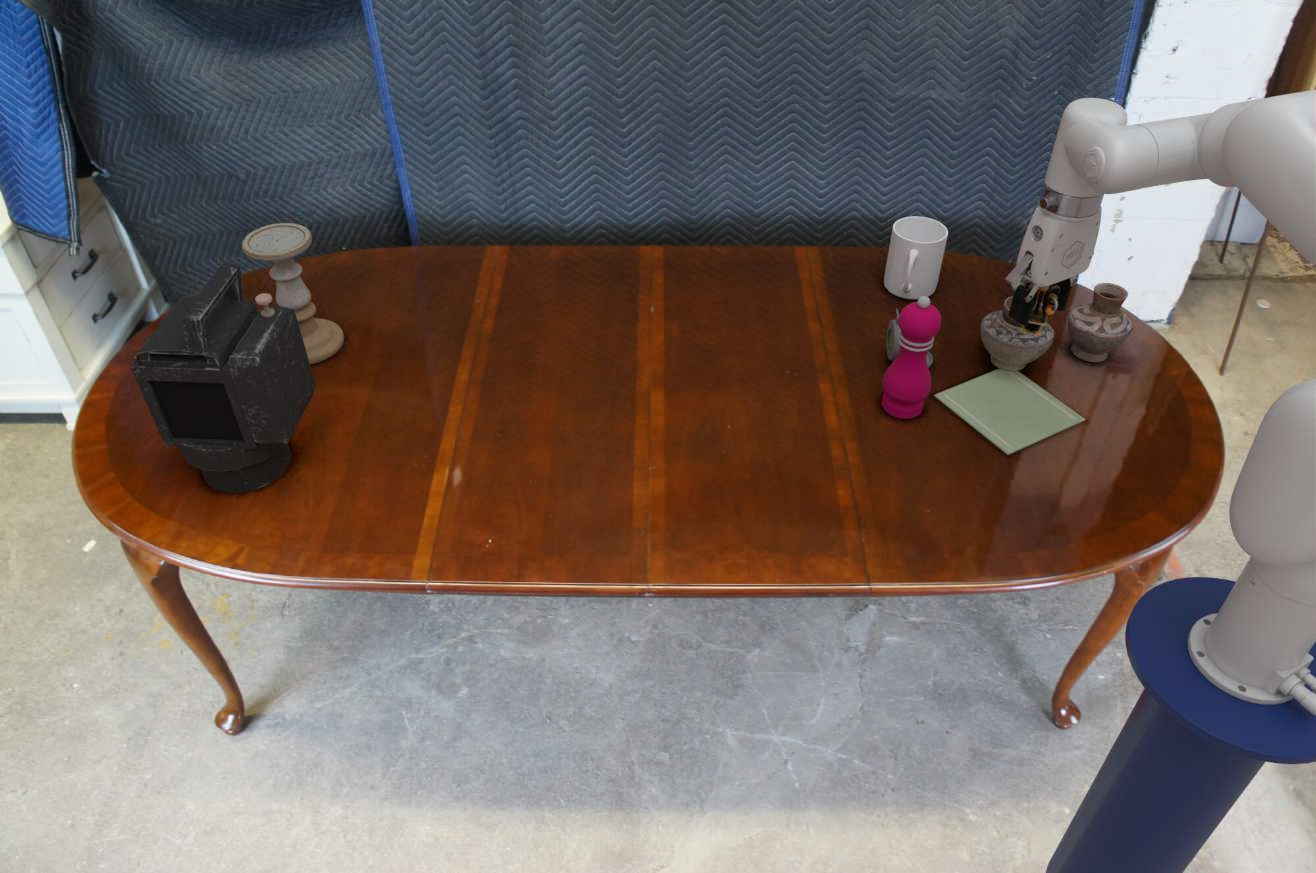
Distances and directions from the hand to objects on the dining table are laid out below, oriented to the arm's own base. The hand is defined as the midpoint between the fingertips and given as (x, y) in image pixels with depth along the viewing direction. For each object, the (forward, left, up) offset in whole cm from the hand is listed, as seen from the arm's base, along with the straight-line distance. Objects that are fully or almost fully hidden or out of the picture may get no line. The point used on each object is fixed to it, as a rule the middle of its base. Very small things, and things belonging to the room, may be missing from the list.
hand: (1036, 312), depth 139 cm
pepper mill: (+9, +13, -19) cm, 24 cm away
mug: (+34, -10, -19) cm, 40 cm away
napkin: (+1, -1, -18) cm, 18 cm away
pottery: (+7, -16, -18) cm, 25 cm away
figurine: (0, 0, -3) cm, 3 cm away
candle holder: (+71, +89, -19) cm, 115 cm away
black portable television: (+45, +103, -19) cm, 114 cm away
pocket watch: (+18, +5, -19) cm, 26 cm away
